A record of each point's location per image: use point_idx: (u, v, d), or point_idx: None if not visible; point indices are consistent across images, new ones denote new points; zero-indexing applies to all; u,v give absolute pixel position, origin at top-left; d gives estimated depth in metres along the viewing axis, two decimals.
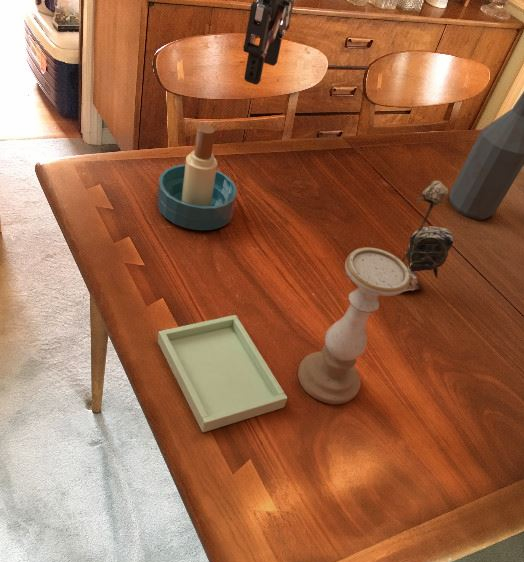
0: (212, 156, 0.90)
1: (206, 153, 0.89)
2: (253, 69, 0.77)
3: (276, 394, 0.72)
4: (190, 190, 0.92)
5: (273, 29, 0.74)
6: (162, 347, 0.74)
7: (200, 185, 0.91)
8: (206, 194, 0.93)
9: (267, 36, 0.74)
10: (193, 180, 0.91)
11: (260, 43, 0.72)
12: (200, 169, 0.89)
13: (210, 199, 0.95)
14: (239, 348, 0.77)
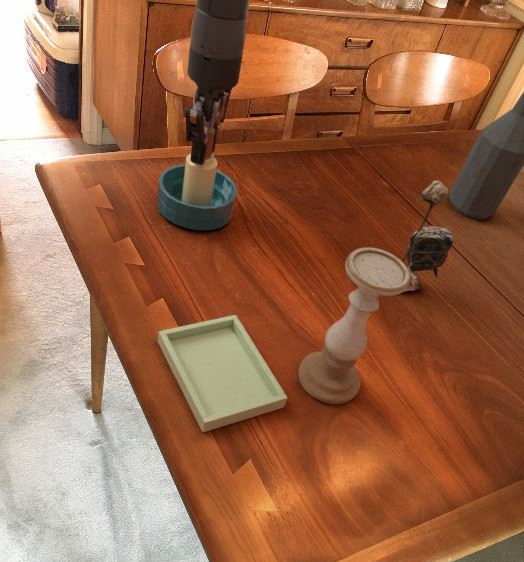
0: (212, 156, 0.90)
1: (206, 153, 0.89)
2: (197, 153, 0.87)
3: (276, 394, 0.72)
4: (190, 190, 0.92)
5: (210, 122, 0.83)
6: (162, 347, 0.74)
7: (200, 185, 0.91)
8: (206, 194, 0.93)
9: (206, 128, 0.84)
10: (193, 180, 0.91)
11: (199, 138, 0.82)
12: (200, 169, 0.89)
13: (210, 199, 0.95)
14: (239, 348, 0.77)
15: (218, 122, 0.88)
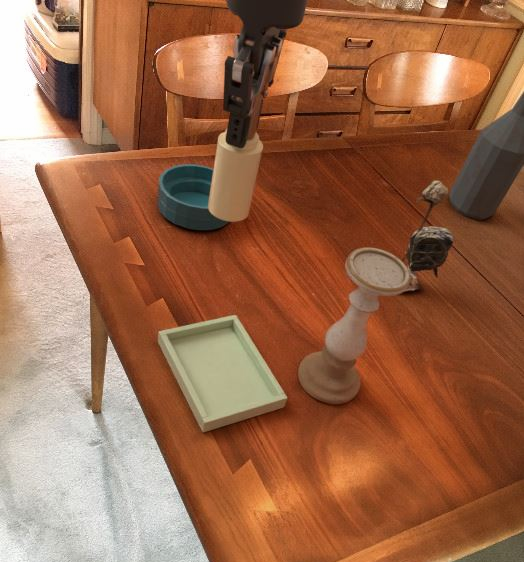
0: (256, 135, 0.62)
1: (249, 130, 0.61)
2: (237, 131, 0.59)
3: (276, 394, 0.72)
4: (223, 185, 0.64)
5: (259, 81, 0.55)
6: (162, 347, 0.74)
7: (238, 178, 0.63)
8: (245, 191, 0.65)
9: (252, 91, 0.56)
10: (228, 170, 0.63)
11: (243, 106, 0.54)
12: (240, 155, 0.61)
13: (250, 198, 0.67)
14: (239, 348, 0.77)
15: (266, 85, 0.60)
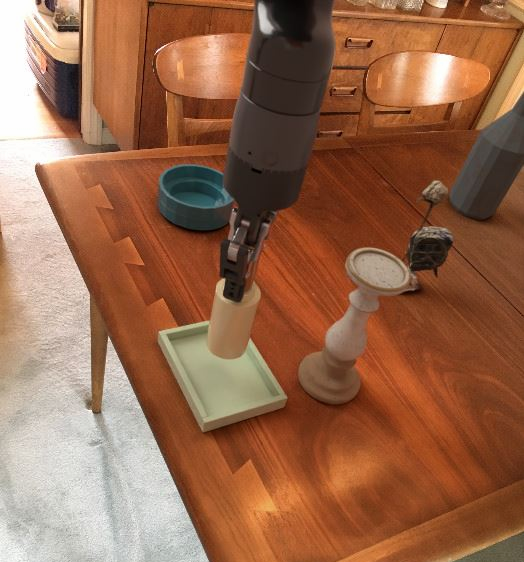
0: (254, 285, 0.63)
1: (246, 285, 0.61)
2: (233, 290, 0.59)
3: (276, 394, 0.72)
4: (220, 330, 0.65)
5: (256, 251, 0.55)
6: (162, 347, 0.74)
7: (236, 326, 0.64)
8: (243, 334, 0.65)
9: (249, 258, 0.56)
10: (226, 319, 0.63)
11: (239, 277, 0.55)
12: (237, 307, 0.62)
13: (248, 338, 0.67)
14: None
15: (263, 241, 0.60)
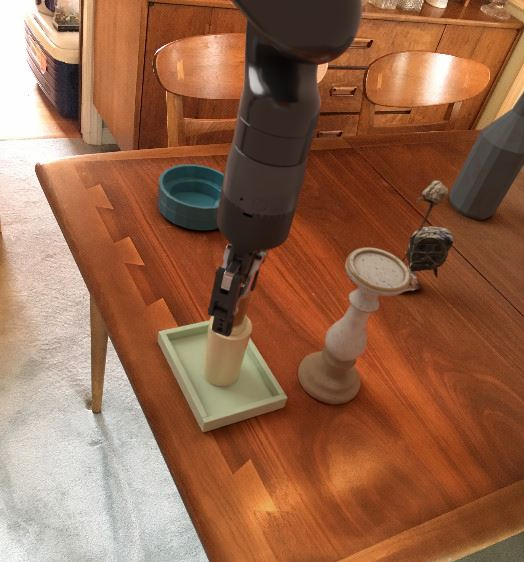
0: (245, 319, 0.67)
1: (238, 319, 0.65)
2: (222, 325, 0.60)
3: (276, 394, 0.72)
4: (214, 360, 0.69)
5: (246, 285, 0.58)
6: (162, 347, 0.74)
7: (228, 356, 0.68)
8: (235, 364, 0.69)
9: (239, 293, 0.58)
10: (219, 350, 0.67)
11: (229, 311, 0.56)
12: (230, 340, 0.65)
13: (240, 366, 0.71)
14: None
15: None
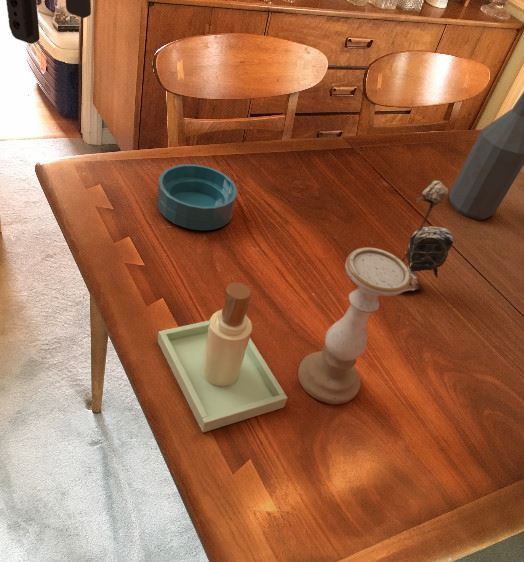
0: (245, 319, 0.67)
1: (238, 319, 0.65)
2: (17, 16, 0.45)
3: (276, 394, 0.72)
4: (214, 360, 0.69)
5: None
6: (162, 347, 0.74)
7: (228, 356, 0.68)
8: (235, 364, 0.69)
9: None
10: (219, 350, 0.67)
11: None
12: (230, 340, 0.65)
13: (240, 366, 0.71)
14: None
15: None
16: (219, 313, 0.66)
